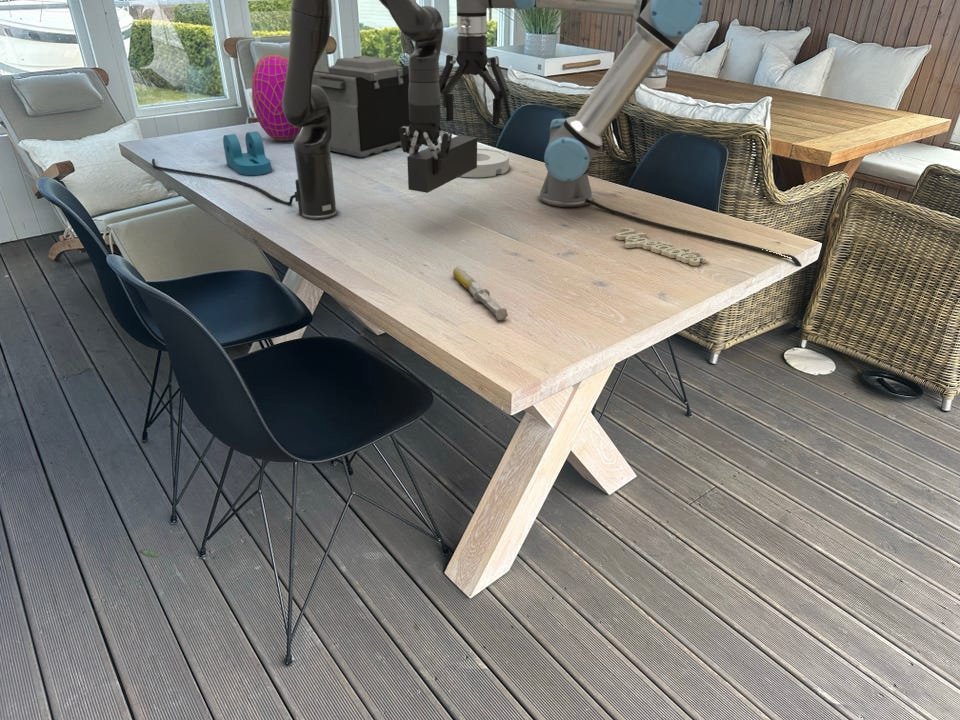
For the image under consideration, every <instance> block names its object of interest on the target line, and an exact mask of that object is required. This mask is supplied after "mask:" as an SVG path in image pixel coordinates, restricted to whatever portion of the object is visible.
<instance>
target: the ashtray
mask: <svg viewBox="0 0 960 720" xmlns="http://www.w3.org/2000/svg"><path fill="white" fill-rule="evenodd" d="M509 169H510V156H509V154H508V153H506V152H505V151H502V150H498V149H495V148H486V147H477V168H475V169H473V170H471V171H469V172H467V173H465V174H463V175H461V176H459V177H461V178H490V177H496V175H503V174H505V173H507V172H509Z"/></svg>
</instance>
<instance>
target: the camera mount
mask: <svg viewBox="0 0 960 720" xmlns="http://www.w3.org/2000/svg"><path fill="white" fill-rule="evenodd" d="M222 140H223V141H222V143H223V149H224V150H223V151H224V156H225V161H226V165H227V166H228V167H230V168H231V169H232V170H234V171H236V172H237V173H238V174H239V175H244V176H260V175H265V174H268V173H271V172H272V164H271V159H270V158H268V157H267V156H266V153H265V145H264V141H263V139H262V136H261V134H260V132H258V131H247V132H246V133H245V146H246V152H243V151H242V150H243V149H242V146H241V142H240V140H239V138H238V135H236V134H235V133H231V134H224V135H223V138H222Z"/></svg>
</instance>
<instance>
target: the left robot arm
mask: <svg viewBox="0 0 960 720" xmlns="http://www.w3.org/2000/svg"><path fill="white" fill-rule="evenodd" d="M378 1H379V3H380V4H382V5H383V7H385V9H387V11H388V12H389V15H390V16H391V18H392V19H393V21H394V22H395V24H396V26H397V27H398V28H399V30H400V31H401V33H402V34H403V35H404V36H405V37H406V38H407V39H409V40H410V41H412V42H414V48H413V49H414V50H413V52H412V53H411V54H410V55H409V57H408V66H409V88H408V99H409V120H410V125H409V127H407V126H403V127H400V128H399V134H400V139H401V144H402V148H401V149H402V152H403V153H406V154H408V156H410V155H413V154H415V153H417V152H420V148H421V146H422V145H424V146H425V147H427V148H429V150H430V151H431V153H432V155H433V158H434V160H433V174H434V175H437V174H439V173H440V172H441V159H442V158H444V157H447V156H448V155H449V150H450V144H451V138H453V137H452V136H453V134H452V132H451V131H443V129H442V128H441V125H440V124H441V100H442V99H441V93H440V86H439V80H440V64H439V62H440V55H441V51H442V45H443V38H444V23H443V22H444V21H443V17H442V15H441V13H440V12H439V10H438V9H437V8H436V7H434V6H432V5H421V6H420V5H419V3H417V1H416V0H378ZM332 5H333V4H332V0H291V9H290V33H289V35H290V36H289V45H288V46H289V47H288V58H287V59H288V67H287V73H286V80H285V86H284V92H283V100H282V106H283V112H284V115H285V118H286V119H287V121H288V122H289V123H290V124H291V125H292V126H295V127H302V129H301V131H300V133H299V134H298V135H297V136H296V137H295V138H294V141H293V149H294V158H295V165H296V174H297V179H295V189H296V191H294V194H293V195H290V196H289V197H290V198H289V201H285V200H282V199H280V198H278V197H277V196H275V195H273V194H271V193H269V192H268V191H266V190H264V189H262V188H260V187H259V186H257V185H254V184H251V183H248V182H245V181H242V180H238V179H235V178H230V177H225V176H220V175H214V174H209V173H201V172H194V171H187V170H180V169H176V168H170V167H162V166H159V165H156V159H155V158H152V159H151V163H152V166H153V168H155V169H157V170H162V171H167V172H174V173H178V174H186V175H192V176H198V177H199V176H200V177H205V178H212V179H217V180H223V181H228V182H231V183H237V184H240V185H243V186H246V187H248V188H249V187H250V188H252V189H254V190H256V191H258V192H260V193H262V194H264V195H266V196H267V197H269V198H270V199H272V200H275V202H276V201H277V202H278V203H280V204H284V205H287V206H290V205H292V204H293V201H294V200H293V199H295V202H296V203H297V204H298V214H299V215H301V216H302V217H304V218H306V219H310V220H311V219H312V220H322V219H323V220H324V219H328V218H332V217H334V216H336V215H337V213H338V211H337V205H336V194H335V184H334V175H333V173H334V172H333V165H332V154H331V151H330V142H331V139H332V126H331V109H330V103H329V99H328V97H327V94H326V93H325V91H324V90H323V89H322V88H321V87H319V86H316V85H312V79H313V74H314V71H316V67H317V65H318V63H319V61H320V59H321V57H322V55H323V53H324V51H325V49H326V47H327V44H328V42H329V39H330V36H331V35H330V34H331V26H332V15H333V6H332ZM410 133H411V135H412V136H413V139H412V142H411V141H410ZM439 138H440V141H441V142H440V141H439ZM440 143H441V149H440Z"/></svg>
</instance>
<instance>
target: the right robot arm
mask: <svg viewBox="0 0 960 720" xmlns="http://www.w3.org/2000/svg"><path fill="white" fill-rule="evenodd" d="M455 3H456V32H457V34H458V36H457V37H456V49H457V55H455V54H454V53H450V54H447V55H446V56H445V57H446V58H445V64H444V67H443V69H442V73H441V75H440V76H439V86H440V94H442V104H443V105H442V107H443V108H445V115H446V122H450V121H453V120H454V93H451V92H452V91H453V89H454V88H455V86H456V85H457V84H458V82H459V81H460V79H461V78H462V77H463V75H473V76H477V75H478V76H479V77H480V78H481V79H482V80H483V82H484V83H485V84H486V86H487V87H488V88H489V90H490V91H491V92H492V94H493V96H494V98H492V126H497V125H499V124H500V116H501V115H500V113H501V112H502V111H503V109H504V98H505V97H507V96H510V95H511V92H510V89H509V86H508V83H507V81H506V79H505V77H504V74H503V71H502V69H501V67H500V59H499V56H497V55H495V56H491V57H488V55H487V51H488V37H487V35H485V34H487V32H488V9H506V10H507V9H511V10H512V9H513V10H514V9H515V10H516V9H518V10H524V9H532V8H540V9H541V8H542V9H552V10H561V11H562V10H563V11H570V12H580V13H589V14H601V15H611V16H619V17H629V18H633V19H634V27H635V30H634V31H635V32H634V33H633V35H632V36H631V38H630V39H628V41H627V43H626V44H625V46H624V47H623V49H622V50H621V52H620V53H619V54H618V56H617V57H616V58H615V60H614V61H613V63H612V64H611V65H610V67H609V68H608V70H607V71H606V73H605V74H604V75H603V77H602V78H601V79H600V81H599V82H598V84H597V85H596V87H595V88H594V90H593V91H592V92H591V93H590V95H589V97H588V98H587V99H586V101H585V102H584V104H583V105H582V106H581V107H580V109H579V110H578V112H577V113H576V114H575V115H573V116H569V117H566V118H554V119H552V120H551V122H550V127H549V141H548V143H547V146H546V148H545V151H544V153H543V159H544V166H545V169H546V170H547V173H546V176H545V178H544V181H543V184H542V187H541V189H540V192H539V200H540V202H542V203H543V204H546V205H549V206H553V207H558V208H559V207H560V208H580V207H584V206H588V205H592V206H595V207H596V208H599V209H601V210H603V211H605V212H608V213H611V214H613V215H617V216H620V217H623V218H626V219H629V220H632V221H636V222H639V223H641V224H642V223H643V224H645V225H650V226H653V227H657V228H660V229H664V230H669V231H671V232H672V231H673V232H677V233H681V234H685V235H690V236H694V237H697V238H703V239H707V240H711V241H715V242H719V243H723V244H728V245H732V246H736V247H740V248H744V249H748V250H751V251H756V252H759V253H762V254H767V255H770V256H773V257H777V258H780V259H787V260H791V261H792V262H793V263H794V264H795V265H796V267H799V268H801V267H802V264H801V262H800V261H799V259H798V258H797V257H796V256H794V255H791V254H788V253H781V254H782V255H785V256H788V257H791V258H792V259H789V258H787V257H784V256H781V255H779V254H776V253H773V252H775V251H774V250H770V249H767V248H764V247H760V246H755V245H751V244H747V243H743V242H740V241H736V240H732V239H727V238H724V237H723V238H722V237H718V236H714V235H710V234H705V233H701V232H697V231H693V230H688V229H683V228H679V227H675V226H671V225H667V224H664V223H660V222H655V221H652V220H649V219H645V218H641V217H637V216H634V215H631V214H629V213H628V214H627V213H625V212H622V211H619V210H616V209H612V208H609V207H607V206H605V205H602V204H600V203H598V202H595V201H593V200H592V199H593V193H592V188H591V184H590V179H589V165H590V162H591V161H592V159H593V158H594V157H595V156H596V154H597V153H598V151H599V150H600V148H601V147H602V146H603V135H604V134H605V133H606V131H607V130H608V129H609V127H610V126H611V124H612V123H613V122H614V120H615V119H616V118H617V116H618V115H619V114H620V113H621V112H622V109H623V108H624V107H625V106H626V104H627V103H628V101H629V100H630V99H631V98H632V96H633V95H634V94H635V92H636V91H637V90H638V88H639V87H640V85H641V84H642V83H643V81H645V79H646V77H647V76H648V75H649V73H650V72H651V71H652V69H653V68H654V67H655V65H656V64H657V63H658V61H659V60H660V59H661V57H662V56H663V55H664V54H667V53H671V52H674V51H675V49H676V48H677V46H678V45H679V44H680V42H681V41H682V40H683V38H684V37H685V36H686V35H687V34H688V33H690V32H691V31H692V30H694V28H695V27H696V26H697V24H698V23H699V21H700V19H701V17H702V13H703V7H704V0H456V2H455ZM456 63H457V65H458V68H457V69H456V71H455V72H454V74H453V76H452V77H451V79H450V80H449V78H450V75H451V73H452V70H453V69H454V65H455V64H456ZM487 65H489V67H490V68H491V71H492V74H493V76H494V78H495V80H494V78H493V76H492V75H491V74H490V71H489V69H488V68H487V67H486V66H487ZM448 80H449V81H448ZM762 249H763V250H762ZM766 250H768V251H766ZM769 251H773V252H769Z"/></svg>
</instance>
